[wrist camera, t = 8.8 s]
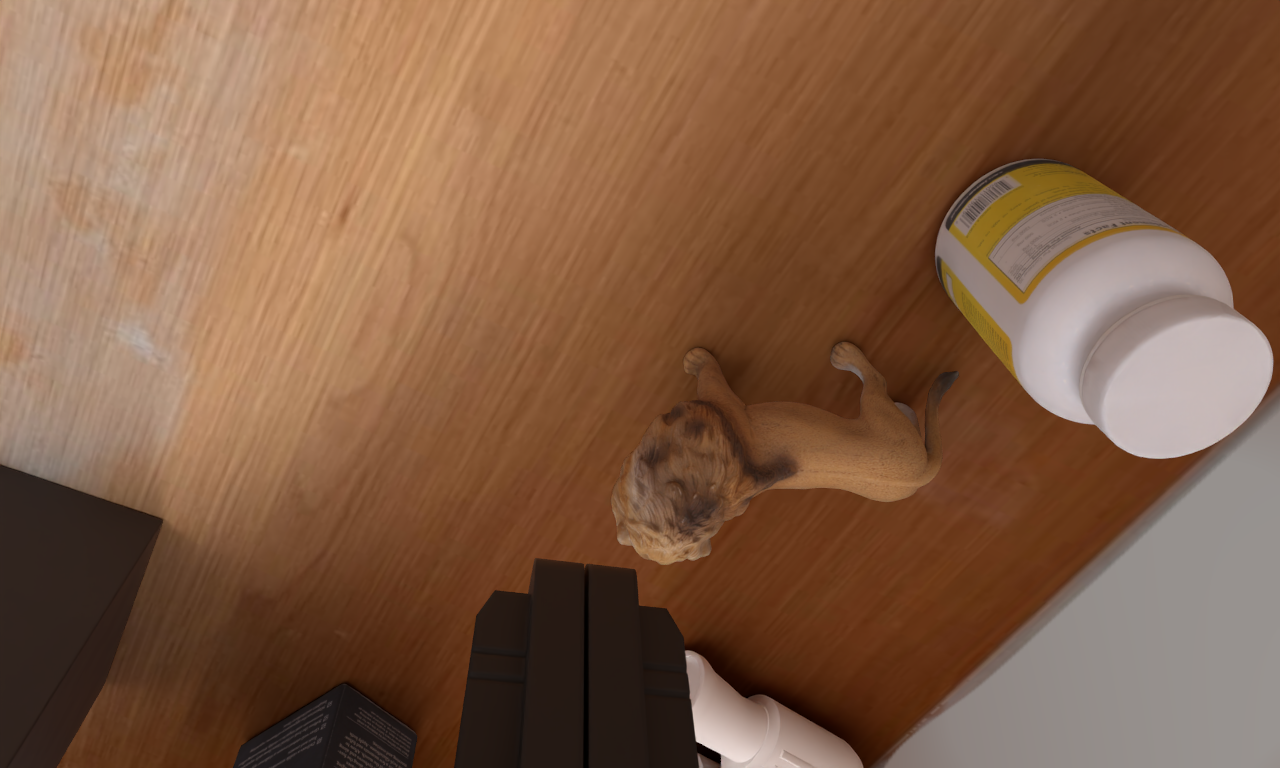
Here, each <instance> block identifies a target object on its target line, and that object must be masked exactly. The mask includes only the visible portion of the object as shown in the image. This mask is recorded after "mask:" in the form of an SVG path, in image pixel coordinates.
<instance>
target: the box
mask: <svg viewBox="0 0 1280 768" xmlns="http://www.w3.org/2000/svg"><path fill="white" fill-rule="evenodd" d="M416 742H417V735H416V733H415V732H414V731H412V730H411V729H410V728H409V727H407V726H406V725H405V724H403V723H402V722H400V721H399V720H397V719H396V718H394V717H393V716H391V715H390V714H389V713H387V712H386V711H384V710H383V709H381V708H380V707H379V706H377V705H376V704H375V703H373V702H372V701H370V700H369V699H368V698H366V697H365V696H363V695H362V694H360V693H359V692H358V691H356V690H355V689H353V688H352V687H350V686H348V685H347V684H341V685H339V686H338V687H336V688H334V689H333V690H331V691H330V692H328V693H326V694H325V695H323V696H322V697H320V698H318V699H317V700H315V701H313V702H312V703H310V704H308V705H307V706H305V707H304V708H302V709H300V710H299V711H297V712H296V713H294V714H292V715H291V716H289V717H287V718H286V719H284V720H282V721H281V722H279V723H278V724H276V725H274V726H272V727H271V728H269V729H268V730H266V731H264V732H263V733H261V734H260V735H258V736H256V737H255V738H253V739H251V740H250V741H248V742H246V743H245V744H243V745H242V746H241V747H240V750H239V752H238V755H237V758H236V761H235V763H234V766H233V768H412V765H413V759H414V753H415V747H416Z"/></svg>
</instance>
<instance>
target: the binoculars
mask: <svg viewBox="0 0 1280 768" xmlns="http://www.w3.org/2000/svg"><path fill="white" fill-rule="evenodd" d="M685 654H686V663H687V674H688V679H689V688H690V699H691V704H692V713H693V721H694V729H695V738H696V742H698V743H700V744H702V745H704V746H706V747H708V748H710V749H712V750H714V751H716V752H718V753H719V754H721V765H720V764H718V763H716V762H714V761H712V760H711V759H709V758H707V757H705V756H703V755H701V754H699V753H697V754H698V762H699V768H863V765H862V762H861V760H860V758H859V757H858V755H857V754H856V753H855V751H854V750H853V749H852V748H851V746H850V745H849V744H848V743H847V742H846V741H844V740H843V739H841V738H839V737H837V736H836V735H834V734H832V733H830V732H829V731H827V730H825V729H823V728H822V727H820V726H818V725H817V724H815V723H813V722H811V721H810V720H808V719H806V718H804V717H803V716H801V715H799V714H797V713H796V712H794V711H792V710H791V709H789V708H787V707H785V706H784V705H782V704H780V703H778V702H777V701H775V700H773V699H771V698H770V697H768V696H766V695H761V694H759V695H754V696H751V697H749V698H744V697H742V696H741V695H740V694H739V693H738V692H737V691H736V690H735V689H734V688H733V687H731V686H730V685H729V684H728V683H727V682H726V681H725V680H723V679H722V678H721V677H720V676H719V675H718V674H717V673H715V672H714V670H713V668H712V667H711V665H710V664H709V663H708V661H707V660H706V659H705V658H704V657H703V656H701V655H699V654H697V653H696V652H694V651H689V650H686V651H685Z"/></svg>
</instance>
